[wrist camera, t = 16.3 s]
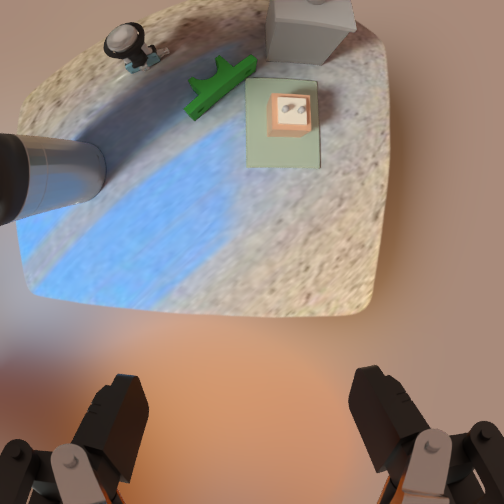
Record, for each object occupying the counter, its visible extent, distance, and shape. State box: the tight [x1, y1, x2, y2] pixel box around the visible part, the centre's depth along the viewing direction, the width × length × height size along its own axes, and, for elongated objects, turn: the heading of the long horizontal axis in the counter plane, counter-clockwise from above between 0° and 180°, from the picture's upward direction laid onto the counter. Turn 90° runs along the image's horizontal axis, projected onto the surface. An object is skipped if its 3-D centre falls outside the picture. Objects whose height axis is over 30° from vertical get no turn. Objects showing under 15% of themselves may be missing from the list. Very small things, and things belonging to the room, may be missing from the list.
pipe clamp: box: [184, 54, 257, 121], centre depth 30 cm, size 11×4×5 cm, turn 133°
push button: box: [104, 22, 170, 74], centre depth 25 cm, size 7×5×10 cm
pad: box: [245, 78, 320, 169], centre depth 34 cm, size 10×13×1 cm
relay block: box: [266, 93, 311, 138], centre depth 30 cm, size 4×4×8 cm
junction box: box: [265, 0, 357, 65], centre depth 23 cm, size 9×8×16 cm
